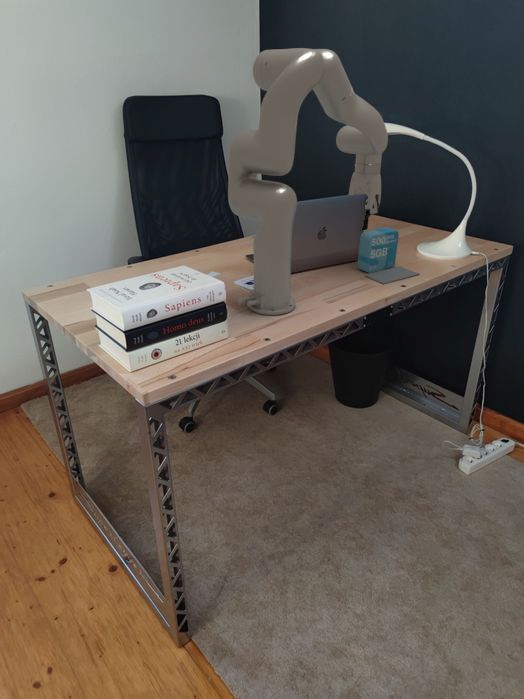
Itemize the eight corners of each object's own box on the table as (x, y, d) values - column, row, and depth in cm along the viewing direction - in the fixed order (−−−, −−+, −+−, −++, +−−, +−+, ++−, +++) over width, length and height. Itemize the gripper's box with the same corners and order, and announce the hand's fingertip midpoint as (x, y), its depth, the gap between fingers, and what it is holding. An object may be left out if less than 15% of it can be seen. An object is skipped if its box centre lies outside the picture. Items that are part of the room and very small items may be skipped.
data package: (366, 274, 155) (370, 235, 150) (356, 269, 159) (360, 232, 153) (395, 267, 161) (399, 229, 155) (384, 263, 164) (389, 226, 159)
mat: (383, 284, 148) (383, 283, 147) (364, 276, 154) (364, 275, 153) (419, 274, 155) (419, 273, 154) (400, 267, 161) (400, 266, 160)
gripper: (341, 166, 156) (337, 226, 165) (375, 173, 145) (369, 236, 153) (360, 164, 159) (355, 222, 168) (394, 171, 148) (387, 233, 157)
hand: (362, 229), depth 161 cm, fingers closed
